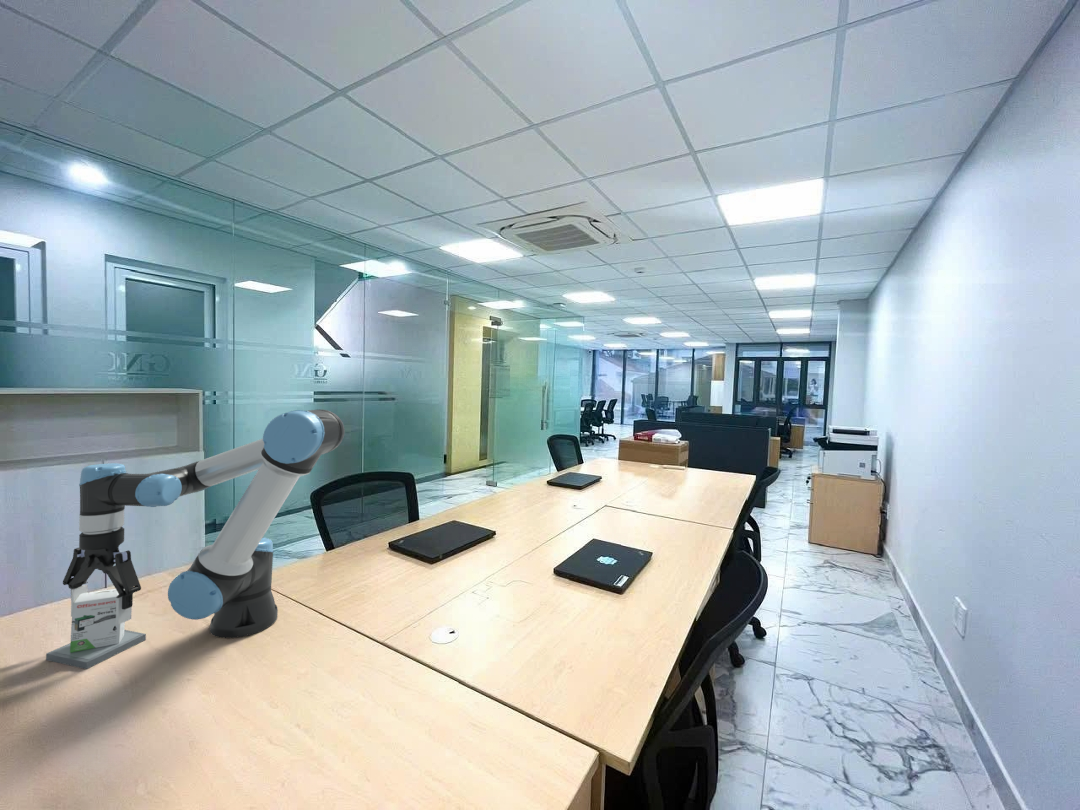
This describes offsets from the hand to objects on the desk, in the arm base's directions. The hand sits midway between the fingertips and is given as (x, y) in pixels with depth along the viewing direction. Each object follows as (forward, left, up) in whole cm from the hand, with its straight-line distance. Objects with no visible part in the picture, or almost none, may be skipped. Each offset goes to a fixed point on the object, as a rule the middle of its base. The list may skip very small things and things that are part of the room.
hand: (101, 617), depth 103 cm
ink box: (0, 0, -6) cm, 6 cm away
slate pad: (0, 0, -8) cm, 8 cm away
